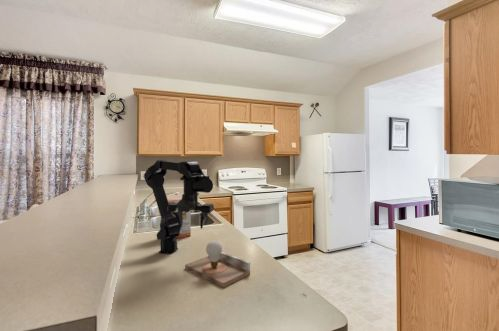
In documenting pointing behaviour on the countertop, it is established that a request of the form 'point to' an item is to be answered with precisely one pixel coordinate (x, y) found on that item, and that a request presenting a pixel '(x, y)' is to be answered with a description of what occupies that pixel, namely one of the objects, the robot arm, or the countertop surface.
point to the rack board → (221, 269)
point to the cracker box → (186, 225)
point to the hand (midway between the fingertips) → (191, 227)
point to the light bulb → (214, 252)
